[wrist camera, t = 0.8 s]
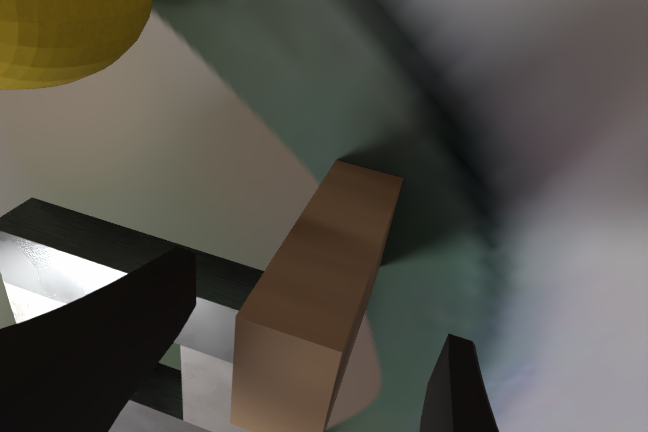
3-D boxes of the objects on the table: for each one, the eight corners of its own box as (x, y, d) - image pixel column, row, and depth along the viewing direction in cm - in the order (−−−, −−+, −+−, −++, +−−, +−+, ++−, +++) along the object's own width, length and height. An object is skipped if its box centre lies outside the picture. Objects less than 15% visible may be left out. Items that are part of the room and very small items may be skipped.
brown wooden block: (379, 267, 19) (316, 456, 12) (320, 249, 19) (230, 423, 13) (403, 178, 17) (341, 352, 10) (336, 160, 17) (235, 316, 11)
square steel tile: (282, 483, 29) (267, 526, 27) (81, 404, 32) (52, 437, 30) (318, 288, 20) (298, 330, 18) (32, 197, 23) (-15, 225, 21)
